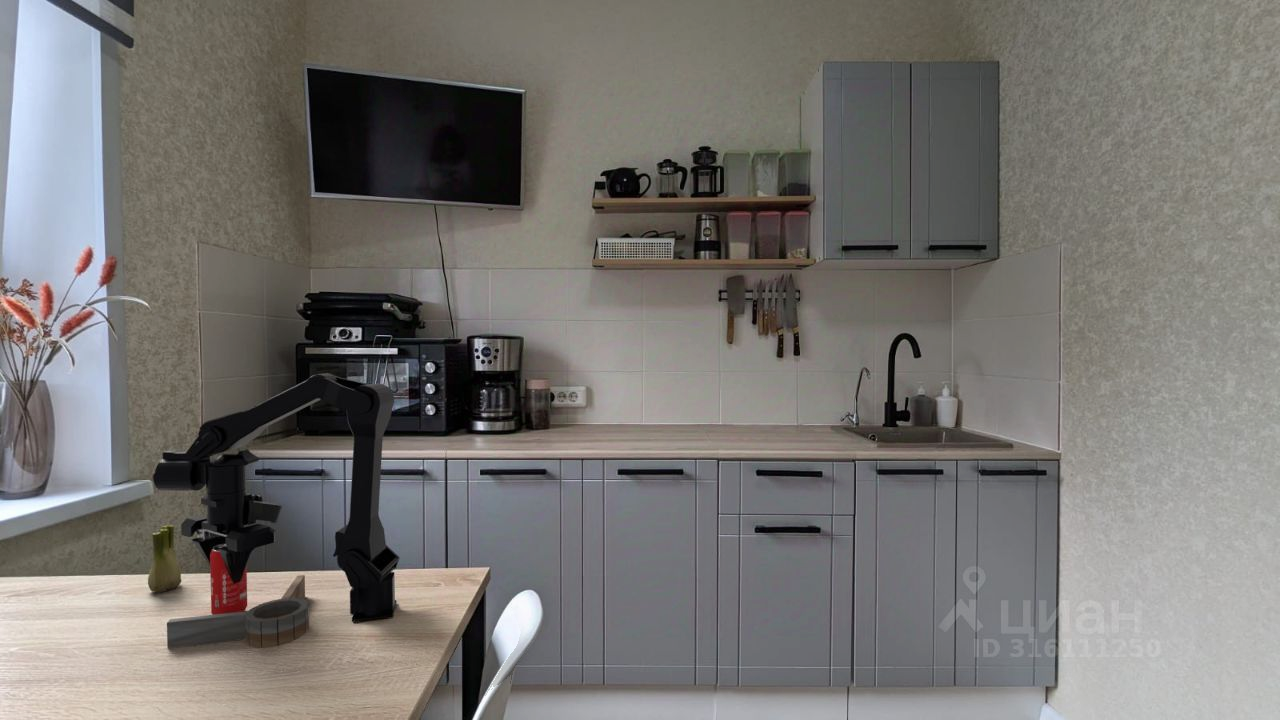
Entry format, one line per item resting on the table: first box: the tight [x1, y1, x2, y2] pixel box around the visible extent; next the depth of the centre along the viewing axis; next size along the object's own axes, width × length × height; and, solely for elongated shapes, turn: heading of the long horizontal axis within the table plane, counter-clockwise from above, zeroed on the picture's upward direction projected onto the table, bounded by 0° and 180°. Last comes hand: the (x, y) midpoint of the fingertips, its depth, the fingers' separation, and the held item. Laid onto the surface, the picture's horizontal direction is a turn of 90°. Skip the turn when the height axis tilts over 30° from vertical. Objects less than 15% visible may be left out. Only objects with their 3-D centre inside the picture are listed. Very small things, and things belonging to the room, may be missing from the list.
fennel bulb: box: [147, 524, 182, 593], centre depth 118 cm, size 6×5×12 cm
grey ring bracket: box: [166, 574, 310, 649], centre depth 104 cm, size 19×19×4 cm
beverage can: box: [209, 543, 248, 615], centre depth 107 cm, size 5×5×12 cm
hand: (228, 580), depth 107 cm, fingers closed on beverage can, 5 cm apart
